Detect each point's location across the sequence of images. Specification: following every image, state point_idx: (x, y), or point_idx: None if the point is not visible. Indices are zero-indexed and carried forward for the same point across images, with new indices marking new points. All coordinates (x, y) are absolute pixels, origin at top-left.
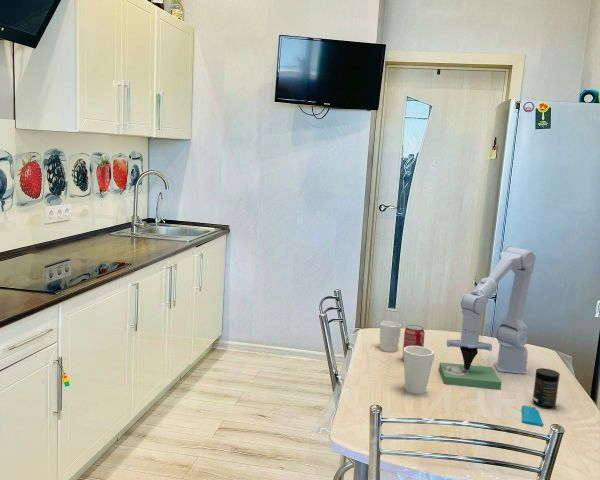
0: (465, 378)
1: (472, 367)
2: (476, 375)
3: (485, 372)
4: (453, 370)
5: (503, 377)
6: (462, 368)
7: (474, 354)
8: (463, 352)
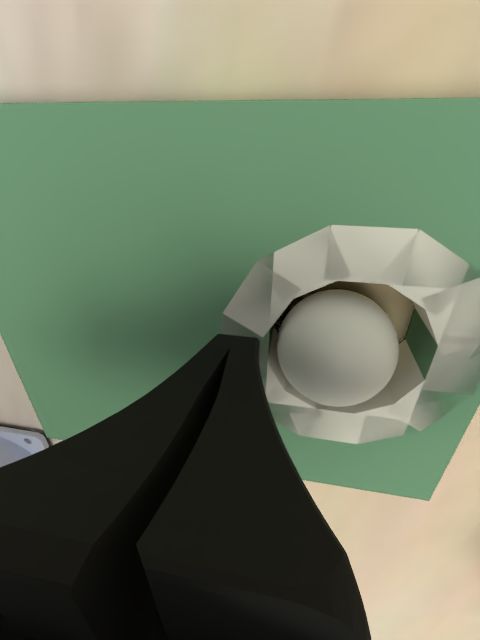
0: (301, 109)
1: None
2: (154, 258)
3: (79, 346)
4: (387, 332)
5: (9, 366)
6: None
7: (38, 477)
8: (319, 558)
